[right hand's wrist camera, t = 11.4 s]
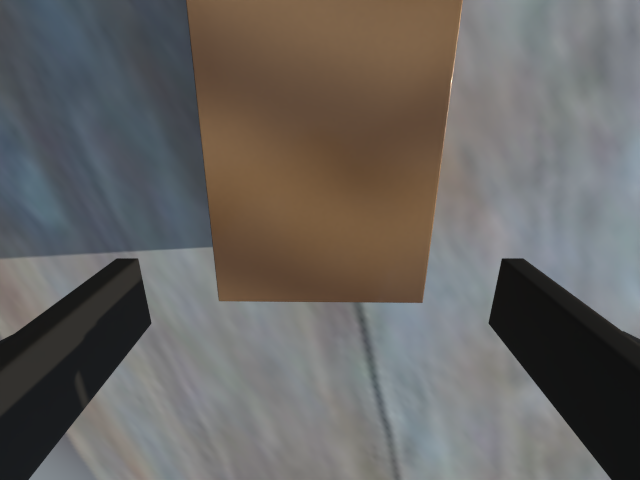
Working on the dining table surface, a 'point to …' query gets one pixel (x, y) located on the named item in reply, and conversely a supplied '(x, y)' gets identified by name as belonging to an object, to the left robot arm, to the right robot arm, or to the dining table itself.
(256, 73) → the cabinet
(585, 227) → the dining table surface
